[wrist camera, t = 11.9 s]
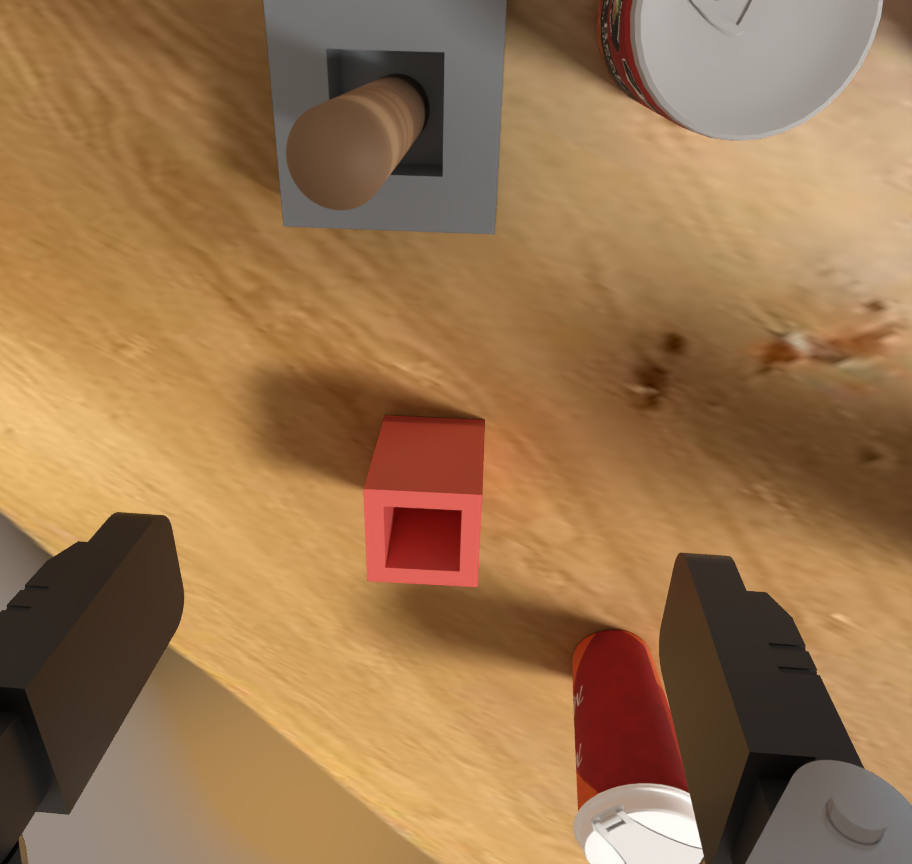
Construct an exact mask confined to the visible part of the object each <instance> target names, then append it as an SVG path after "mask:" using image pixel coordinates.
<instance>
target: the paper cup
mask: <svg viewBox="0 0 912 864" xmlns="http://www.w3.org/2000/svg"><path fill="white" fill-rule="evenodd" d="M573 702H574V727H575V751H576V774H577V797H578V812H577V814H576V816H575V819H574V828H573V829H574V834H575V837H576V839H577V841H578V843H579V844H580V846H581V847H582V848H583V851H584V854H585V856H586V858H587V860H588V861H589V863H590V864H699V863H700V861H701V860H702V858H703V857H704V855H703V850H702V846H701V842H700V837H699V833H698V829H697V824H696V820H695V815H694V811H693V807H692V802H691V798H690V794H689V789H688V785H687V781H686V776H685V772H684V767H683V763H682V759H681V754H680V750H679V746H678V741H677V737H676V733H675V728H674V724H673V719H672V715H671V712H670V709H669V706H668V703H667V699H666V696H665V693H664V690H663V687H662V684H661V681H660V678H659V675H658V672H657V669H656V667H655V664H654V661H653V658H652V655H651V653H650V650H649V648H648V646H647V645H646V643H645V642H644V641H643V640H642V639H641V638H640V637H638V636H637V635H635V634H633V633H630V632H627V631H623V630H604V631H600V632H596V633H594V634H591V635H589V636H588V637H586V638H585V639H583V640H582V641H581V642H580V643H579V644H578V645H577V647H576V649H575V651H574V654H573Z"/></svg>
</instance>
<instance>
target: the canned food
mask: <svg viewBox="0 0 912 864" xmlns="http://www.w3.org/2000/svg"><path fill="white" fill-rule="evenodd" d="M882 6H883V0H599V6H598V13H597V39H598V43H599V48H600V53H601V56H602V59H603V61H604V63H605V66H606V68H607V70H608V72H609V74H610V75H611V77H612V78H613V80H614V81H615V83H616V84H617V85H618V86H619V87H620V88H621V89H622V90H623V91H624V92H625V93H626V94H627V95H628V96H629V97H630V98H632V99H634V100H635V101H637V102H638V103H640V104H642V105H643V106H645V107H647V108H649V109H651V110H652V111H654V112H656V113H658V114H659V115H661V116H663V117H665V118H667V119H668V120H670V121H672V122H674V123H676V124H677V125H679V126H681V127H683V128H685V129H688V130H690V131H692V132H695V133H698V134H701V135H704V136H707V137H710V138H716V139H724V140H732V141H734V140H735V141H741V140H754V139H762V138H766V137H769V136H773V135H776V134H780V133H783V132H786V131H788V130H790V129H792V128H794V127H796V126H798V125H800V124H802V123H804V122H806V121H807V120H809V119H810V118H812V117H813V116H814V115H816V114H817V113H819V112H820V111H821V110H823V109H824V108H826V107H827V106H828V105H829V104H830V103H831V102H832V101H833V100H834V99H835V98H836V97H837V96H838V95H839V94H840V93H841V92H842V91H843V90H844V89H845V87H846V86H847V85H848V83H849V82H850V81H851V79H852V78H853V77H854V75H855V74H856V72H857V71H858V70H859V68H860V67H861V65H862V63H863V61H864V59H865V57H866V55H867V53H868V51H869V49H870V47H871V45H872V43H873V40H874V37H875V34H876V31H877V28H878V25H879V21H880V18H881V13H882Z"/></svg>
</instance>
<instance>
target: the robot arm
mask: <svg viewBox="0 0 912 864" xmlns="http://www.w3.org/2000/svg"><path fill="white" fill-rule="evenodd" d="M183 606H184V589H183V583H182V578H181V573H180V568H179V562H178V557H177V552H176V547H175V541H174V536H173V531H172V526H171V523H170V521H169V519H168V518H167V517H166V516H164V515H152V514H137V513H123V512H117V513H114V514H113V515H111V516H110V517H109V518H108V519H107V520H106V522H105V523H104V524H103V525H102V526H101V527H100V529H99V530H98V531H97V532H96V533H95V534H94V536H93V537H92V538H91V539H90V540H89V541H88V542H80V541H78V542H77V543H75V544H73V545H72V546H70V547H69V548H67V549H65V550H64V551H62V552H61V553H59V554H57V555H56V556H54V557H53V558H51V559H50V560H48V561H46V563H45V564H44V565H43V566H42V567H41V568H40V569H39V570H38V571H37V572H36V574H35V575H34V576H33V577H32V578H31V579H30V580H29V581H28V582H27V583H26V585H25V589H24V590H20V591H19V592H18V593H17V594H16V596H15V597H14V598H13V599H12V600H11V601H10V602H9V603H8V604H7V609H6V610H2V611H1V612H0V864H28V857H27V849H26V844H25V840H24V838H23V835H22V833H23V831H24V829H25V828H26V826H27V825H28V823H29V821H30V820H31V818H32V816H33V815H34V813H35V812H46V813H57V814H70V812H71V810H72V809H73V807H74V805H75V803H76V802H77V800H78V798H79V797H80V795H81V793H82V792H83V790H84V788H85V786H86V785H87V783H88V781H89V779H90V778H91V776H92V774H93V773H94V771H95V769H96V768H97V766H98V764H99V762H100V760H101V759H102V757H103V755H104V754H105V752H106V750H107V749H108V747H109V745H110V743H111V742H112V740H113V738H114V737H115V734H116V733H117V731H118V730H119V728H120V726H121V725H122V723H123V721H124V719H125V717H126V716H127V714H128V713H129V711H130V709H131V707H132V706H133V704H134V702H135V700H136V698H137V697H138V695H139V694H140V692H141V690H142V688H143V687H144V685H145V683H146V682H147V680H148V678H149V676H150V675H151V673H152V671H153V669H154V668H155V666H156V664H157V663H158V661H159V659H160V657H161V656H162V654H163V652H164V650H165V649H166V647H167V646H168V644H169V642H170V640H171V639H172V637H173V635H174V633H175V632H176V630H177V628H178V625H179V623H180V620H181V616H182V612H183ZM659 657H660V666H661V672H662V676H663V680H664V685H665V689H666V693H667V698H668V702H669V706H670V711H671V715H672V719H673V724H674V728H675V733H676V737H677V741H678V746H679V750H680V754H681V759H682V763H683V767H684V772H685V776H686V781H687V785H688V789H689V794H690V798H691V802H692V807H693V811H694V815H695V820H696V824H697V829H698V833H699V837H700V842H701V846H702V850H703V855H704V859H705V863H706V864H912V805H911V804H910V803H909V802H908V801H907V799H906V798H905V797H904V796H903V795H902V794H901V793H900V792H898V791H897V790H896V789H895V788H894V787H893V786H891V785H890V784H889V783H888V782H886V781H885V780H883V779H882V778H880V777H879V776H877V775H875V774H874V773H872V772H870V771H868V770H866V769H865V768H864V767H863V765H862V763H861V761H860V758H859V756H858V754H857V752H856V750H855V748H854V746H853V744H852V742H851V740H850V738H849V736H848V733H847V731H846V729H845V727H844V725H843V723H842V721H841V719H840V717H839V715H838V713H837V710H836V708H835V706H834V704H833V702H832V700H831V698H830V696H829V694H828V692H827V690H826V687H825V685H824V683H823V681H822V679H821V677H820V675H817V672H816V671H817V669H816V667H815V664H814V662H813V660H812V658H811V656H810V654H809V652H808V651H806V650H805V644H804V641H803V639H802V637H801V635H800V633H799V631H798V629H797V627H796V625H795V623H794V621H793V618H792V617H791V616H790V615H789V614H788V613H787V612H786V611H785V610H784V609H783V608H782V607H781V606H780V605H779V604H778V603H777V602H776V601H775V600H774V599H773V598H772V597H771V596H770V595H768V594H767V593H766V592H754V591H746V588H745V586H744V584H743V581H742V579H741V577H740V574H739V572H738V569H737V567H736V565H735V562H734V560H733V559H732V558H731V557H730V556H721V555H707V554H692V553H679V554H678V556H677V558H676V560H675V564H674V568H673V573H672V577H671V582H670V587H669V591H668V596H667V600H666V605H665V610H664V614H663V619H662V623H661V629H660V637H659Z"/></svg>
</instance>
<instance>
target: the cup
mask: <svg viewBox="0 0 912 864" xmlns="http://www.w3.org/2000/svg"><path fill="white" fill-rule="evenodd" d="M484 431H485V420H479V419H457V418H436V417H414V416H392V415H385V417H384V420H383V423H382V427H381V430H380V434H379V437H378V441H377V444H376V447H375V451H374V454H373V458H372V461H371V464H370V468H369V471H368V475H367V478H366V482H365V485H364V488H363V494H364V516H365V539H366V561H367V581H375V582H394V583H412V584H431V585H450V586H468V587H478V569H479V550H480V530H481V511H482V490H483V461H484Z"/></svg>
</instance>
